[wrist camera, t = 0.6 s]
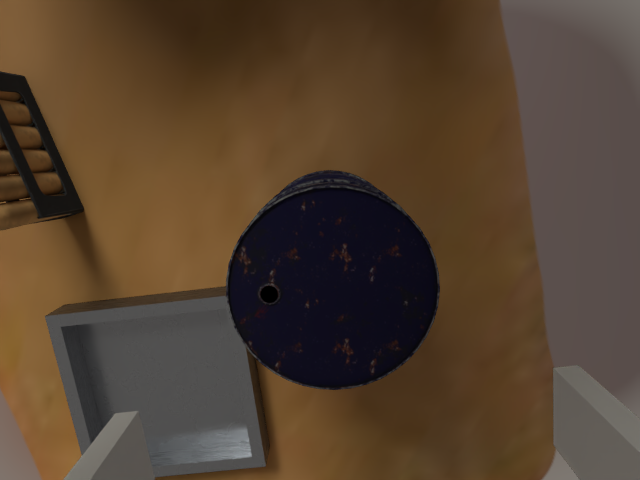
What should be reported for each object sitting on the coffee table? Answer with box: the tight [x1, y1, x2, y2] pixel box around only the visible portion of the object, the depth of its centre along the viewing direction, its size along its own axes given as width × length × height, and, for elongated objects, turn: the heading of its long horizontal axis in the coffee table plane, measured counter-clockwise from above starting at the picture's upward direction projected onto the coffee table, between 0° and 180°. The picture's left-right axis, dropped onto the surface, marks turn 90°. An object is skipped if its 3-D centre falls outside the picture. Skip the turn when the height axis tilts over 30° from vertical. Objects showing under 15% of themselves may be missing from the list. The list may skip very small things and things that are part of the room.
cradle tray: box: [45, 287, 270, 477], centre depth 35 cm, size 15×15×2 cm
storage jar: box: [226, 170, 440, 390], centre depth 27 cm, size 10×10×15 cm
